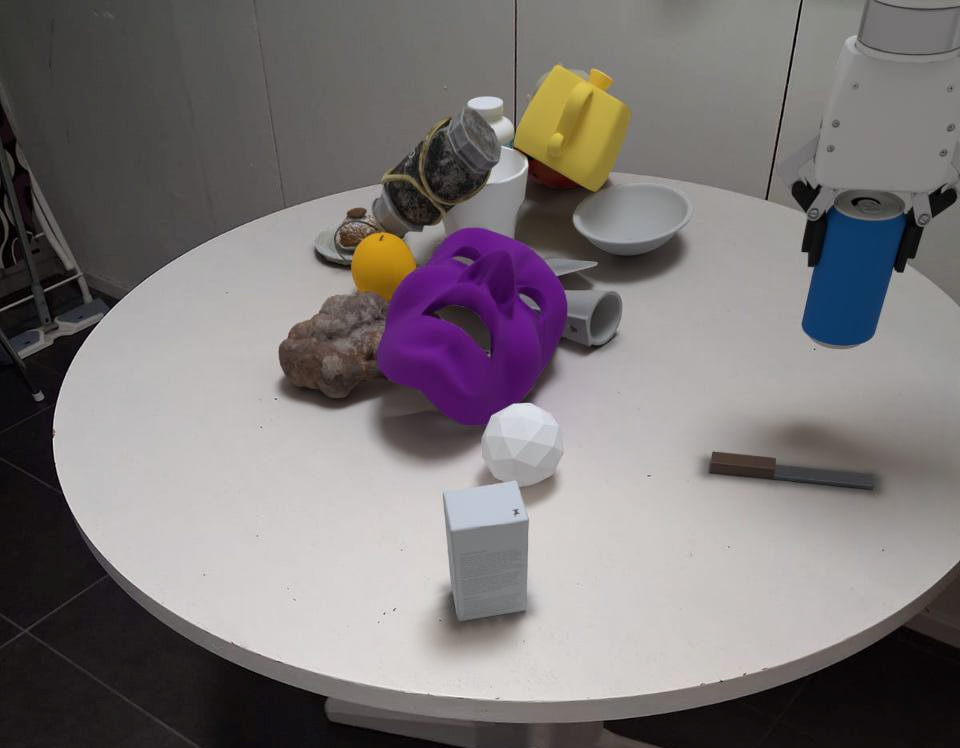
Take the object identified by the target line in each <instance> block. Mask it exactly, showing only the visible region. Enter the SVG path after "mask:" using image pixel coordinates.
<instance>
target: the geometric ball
mask: <svg viewBox="0 0 960 748" xmlns="http://www.w3.org/2000/svg"><path fill="white" fill-rule="evenodd" d="M564 453H565V449H564V435H563V431H562V429H561V427H560V425H559V424H558V422H557V421H556V420H555V418H554V416H553V415H552V414H551V412H548V411H547V410H545V409H543V408H541V407H539V406H537V405H536V404H534V403H531V402H520V403H517V404H512V405H510V406H508V407H507V408H505V409H503V410H501V411H499V412H497V413H495V414H494V415H492V416H491V418H490V420H489V422H488V424H487V425H486V427H485V429H484V432H483V434H482V436H481V457H482V459H483V461H484V463H485V464H486V466H487V467H488V469H489V471H490V472H491V474H492V476H493V477H494V478H495V479H498V480H500V481H501V482H502V483H504V482H510V481H517V482H518V485H519V488H520V487H529V486H533V485H536V484H538V483H540V482H542V481H544V480H545V479H547V478H549V477H551V476H553V475H554V474H555V471H556V470H557V468H558V465H559V463H560V462H561V459H562V457H563V455H564Z"/></svg>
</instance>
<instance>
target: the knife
mask: <svg viewBox="0 0 960 748" xmlns="http://www.w3.org/2000/svg"><path fill="white" fill-rule="evenodd" d="M709 473H713V474H723V475H732V476H739V477H742V476H743V477H752V478H761V479H770V480H778V481H787V482H788V481H790V482H798V483H808V484H815V485H816V484H817V485H825V486H826V485H827V486H837V487H844V488H845V487H846V488H855V489H863V490H864V489H865V490H873V489H874V488H875V484H874V483H875V482H874V474H872V473H861V472H852V471H843V470H833V469H823V468H822V469H821V468H813V467H802V466H795V465H793V466H792V465H783V464H777V457H773V456H762V455H753V454H743V453H732V452H722V451H715V450H714V451H712V452H711V457H710V465H709Z"/></svg>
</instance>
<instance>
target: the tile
mask: <svg viewBox="0 0 960 748" xmlns="http://www.w3.org/2000/svg"><path fill="white" fill-rule="evenodd" d="M543 260H544V261H545V262H546V263H547V265H548V266H549V267H550V268H551V269H552V271H553V272H554V273H555V275H556V276H557V277H560V276H563V275H566V274H571V273H574V272H577V271H582V270H585V269H589V268H593V267H596V266H597V265H598V262H597V261H590V260H589V261H588V260H579V259H578V260H577V259H565V258H547V259H543Z"/></svg>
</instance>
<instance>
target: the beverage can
mask: <svg viewBox="0 0 960 748" xmlns="http://www.w3.org/2000/svg"><path fill="white" fill-rule="evenodd" d="M905 209H906V202H905V201H904V199H902V198H901V197H900V196H899V195H897V194H894V192H880V191H860V190H844V191H842V192H840V193H837V194H836V195H835V197H834V199H833V204H832V205H831V206H830V207H829V208H828V210H826V225H825V230H824V235H823V239H822V244H821V248H820V253H819V257H818V262H817V266H814V267H813V269H812V273H811V279H810V283H809V286H808V287H809V288H808V292H807V296H806V301H805V306H804V311H803V315H802V320H801V329H802V331H803V333H804V334H805V335H806V336H808V337H809V338H810V340H811V341H812V342H814V343H815V344H816V345H819V346H820V347H824V348H827V349H832V350H849V349H853V348H856V347H859V346H860V345H862V344H865V343H867V342H869V341H870V340H872V339H873V337H874V336H875V334H876V331H877V329H878V328H877V327H878V324H879V320H880V317H881V314H882V311H883V308H884V307H883V306H884V303H885V299H886V295H887V293H888V289H889V285H890V282H891V278H892V275H893V271H894V265H895V261H896V258H897V254H898V251H899V247H900V244H901V240H902V237H903V233H904V230H905V226H906V215H905V214H906V213H905Z"/></svg>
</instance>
